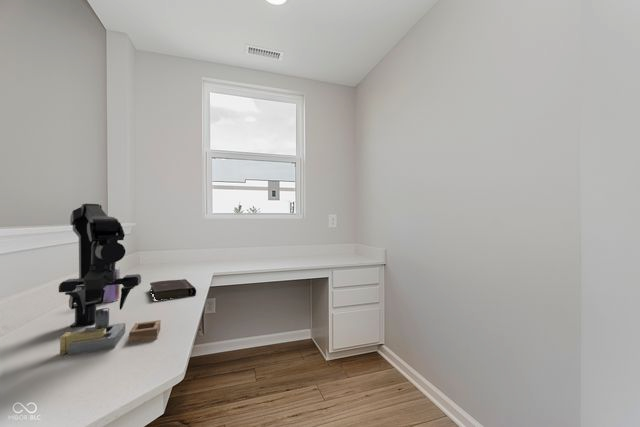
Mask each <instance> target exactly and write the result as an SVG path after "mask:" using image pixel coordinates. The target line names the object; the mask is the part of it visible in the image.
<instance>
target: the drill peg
mask: <svg viewBox="0 0 640 427" xmlns="http://www.w3.org/2000/svg"><path fill="white" fill-rule="evenodd" d="M94 325H95V326H94V327H95V330H96V329H104V328H106V332H109V325H110V308H107V307H105V308H99V309H96V316H95V323H94Z"/></svg>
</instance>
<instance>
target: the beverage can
mask: <svg viewBox="0 0 640 427" xmlns="http://www.w3.org/2000/svg"><path fill="white" fill-rule="evenodd" d="M115 272H116V279H117V278H121V268H120V267H119V266H115ZM120 285H121V284H118V285H106V287H105V288H103V289H104V290H105V294H104V298H103V303H105V302H109V303H113V302H112V301H115V302H117V301H116V300H118V301H119V300H120V292H121V288H120Z"/></svg>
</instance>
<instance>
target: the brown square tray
mask: <svg viewBox="0 0 640 427" xmlns="http://www.w3.org/2000/svg"><path fill="white" fill-rule="evenodd" d="M160 331H161V319H159V320H158V319H157V320H150V321H143V322H138V323H137V322H136V323H134V324H133V326H132V328H131V329H130V331H129V333H128V342H129V344H133V343H139V342H145V341H150V340H151V341H152V340H157V339H158V337H159V334H160Z"/></svg>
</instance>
